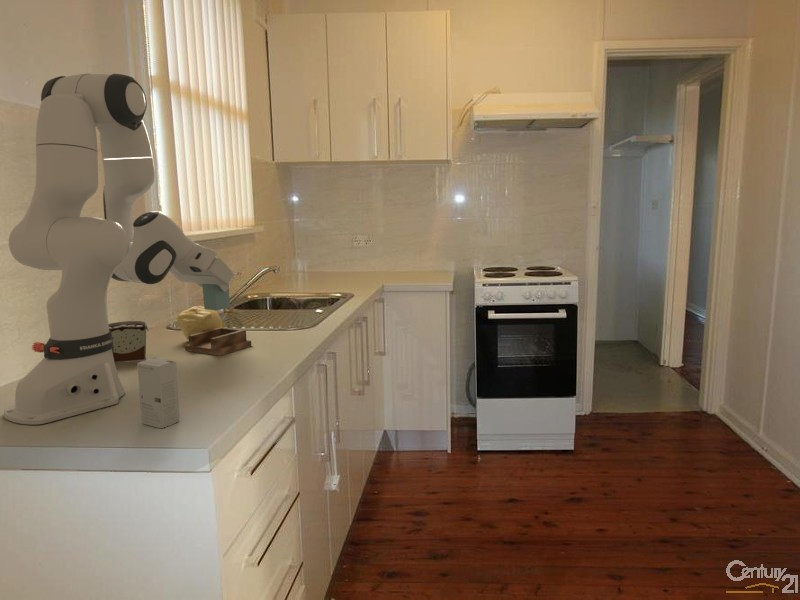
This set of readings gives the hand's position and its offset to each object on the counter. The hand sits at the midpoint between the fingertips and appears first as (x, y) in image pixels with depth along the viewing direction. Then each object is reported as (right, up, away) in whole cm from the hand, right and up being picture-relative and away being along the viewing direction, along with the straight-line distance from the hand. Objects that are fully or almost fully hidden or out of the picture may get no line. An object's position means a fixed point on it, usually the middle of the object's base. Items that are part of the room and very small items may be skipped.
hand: (217, 289), depth 164 cm
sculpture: (-8, -16, +12) cm, 22 cm away
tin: (0, -5, 0) cm, 5 cm away
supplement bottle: (-6, -15, +19) cm, 25 cm away
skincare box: (+7, -27, -54) cm, 61 cm away
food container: (-22, -19, -6) cm, 30 cm away
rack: (0, -17, +3) cm, 17 cm away
